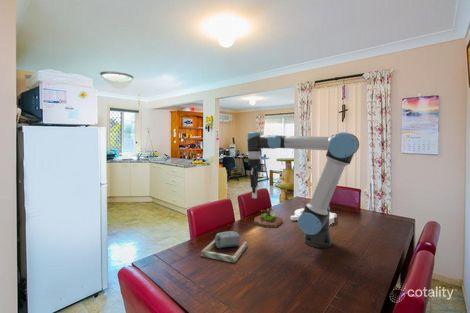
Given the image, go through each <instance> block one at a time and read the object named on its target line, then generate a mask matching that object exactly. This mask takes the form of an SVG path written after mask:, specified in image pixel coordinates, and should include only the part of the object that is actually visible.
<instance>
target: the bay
mask: <svg viewBox="0 0 470 313" xmlns="http://www.w3.org/2000/svg"><path fill="white" fill-rule="evenodd" d="M215 247H217V246H216V244H215V238H214V239H213V240H212V241H211V242H210V243H209V244H207V245H206V246H205V247H204V248H203V249H202V250H201V251H200V252H201V253H200V255H201V256H200V257H204V258H209V259H214V260H217V261H224V262H228V263H234V264H235V263H237V261H238V259H239V258H240V257H241V255H242V254H243V253H244V251H245V250H246V249H247V248H248V241H243V243H242V244H241V245H240V247H239V248H238V249H237V250H236V252H235V253H234V254H233V255H231V254H230V255H229V254H225V253H221V252H215V251H212V250H213V249H214V248H215Z"/></svg>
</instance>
